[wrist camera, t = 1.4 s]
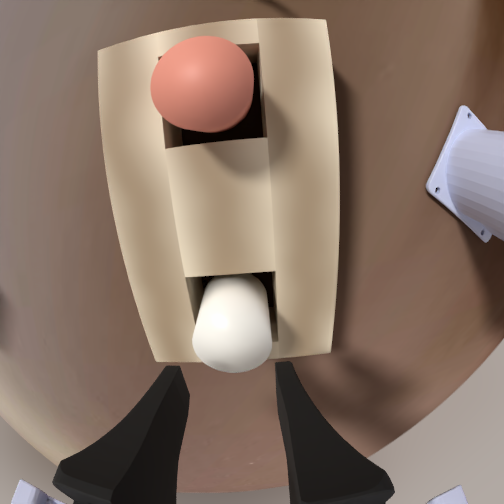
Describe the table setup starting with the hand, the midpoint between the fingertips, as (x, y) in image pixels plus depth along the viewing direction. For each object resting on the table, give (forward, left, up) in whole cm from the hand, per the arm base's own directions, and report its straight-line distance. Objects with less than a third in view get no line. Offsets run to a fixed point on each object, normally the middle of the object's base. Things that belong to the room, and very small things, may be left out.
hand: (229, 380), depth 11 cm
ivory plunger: (0, 0, -7) cm, 7 cm away
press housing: (+3, -5, -9) cm, 11 cm away
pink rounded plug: (+6, -10, -7) cm, 14 cm away
